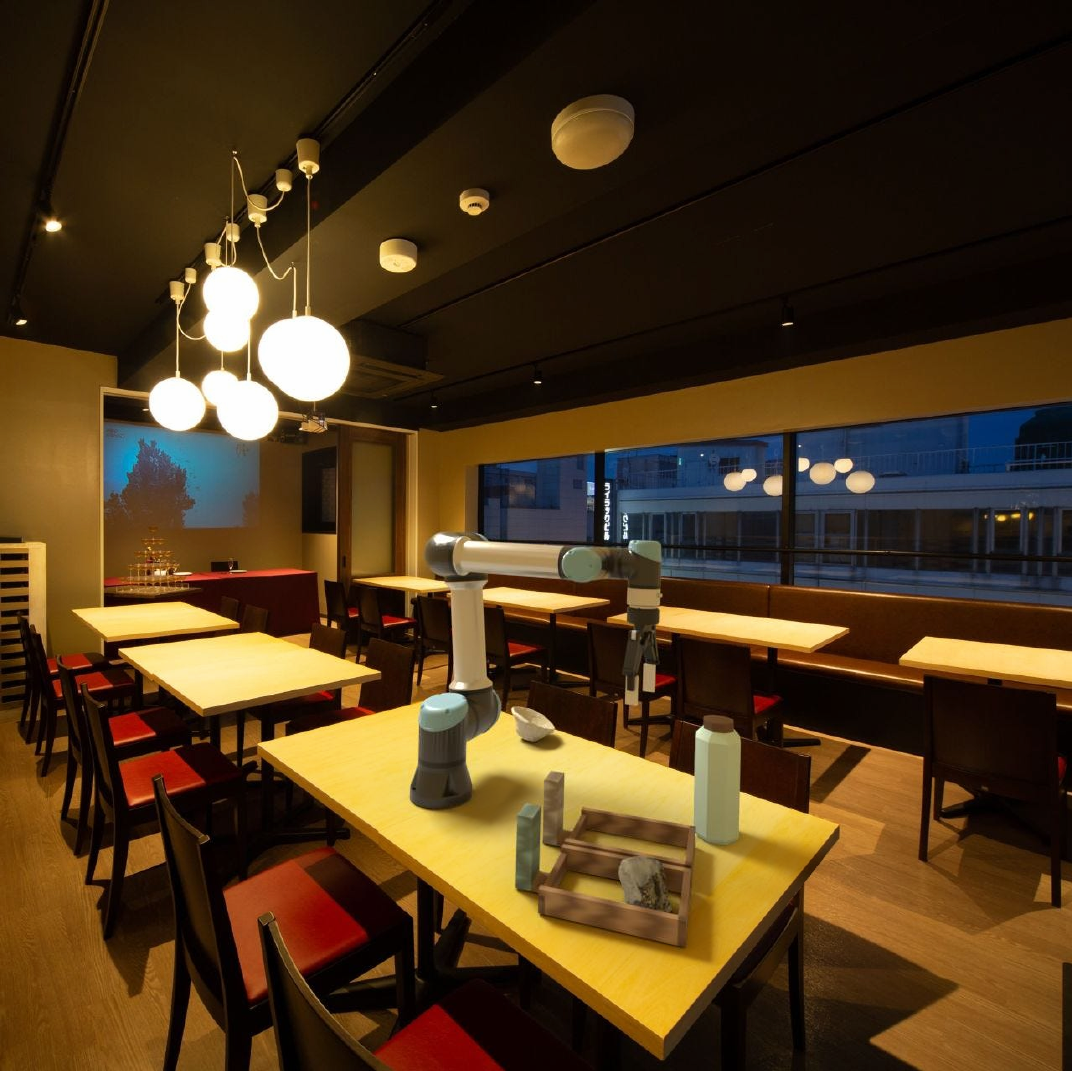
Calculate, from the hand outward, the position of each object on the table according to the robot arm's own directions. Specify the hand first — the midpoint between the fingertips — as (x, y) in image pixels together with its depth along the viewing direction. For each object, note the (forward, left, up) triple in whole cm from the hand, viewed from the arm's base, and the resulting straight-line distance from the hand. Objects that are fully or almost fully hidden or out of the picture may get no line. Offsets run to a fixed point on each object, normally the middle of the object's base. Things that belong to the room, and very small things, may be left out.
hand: (640, 697), depth 135 cm
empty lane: (-2, -19, -26) cm, 32 cm away
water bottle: (+17, -4, -27) cm, 32 cm away
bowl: (-38, +38, -27) cm, 60 cm away
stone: (+6, -35, -27) cm, 45 cm away
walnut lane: (-2, -35, -26) cm, 44 cm away
